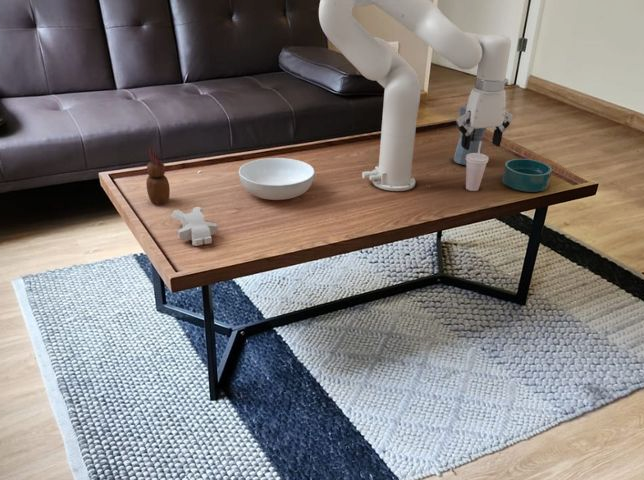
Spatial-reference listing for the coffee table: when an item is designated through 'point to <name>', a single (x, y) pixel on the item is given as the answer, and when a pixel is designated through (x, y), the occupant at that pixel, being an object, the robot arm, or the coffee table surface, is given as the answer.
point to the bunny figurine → (195, 227)
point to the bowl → (526, 175)
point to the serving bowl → (276, 178)
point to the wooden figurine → (157, 181)
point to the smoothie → (475, 169)
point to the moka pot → (474, 142)
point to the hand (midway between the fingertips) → (480, 146)
